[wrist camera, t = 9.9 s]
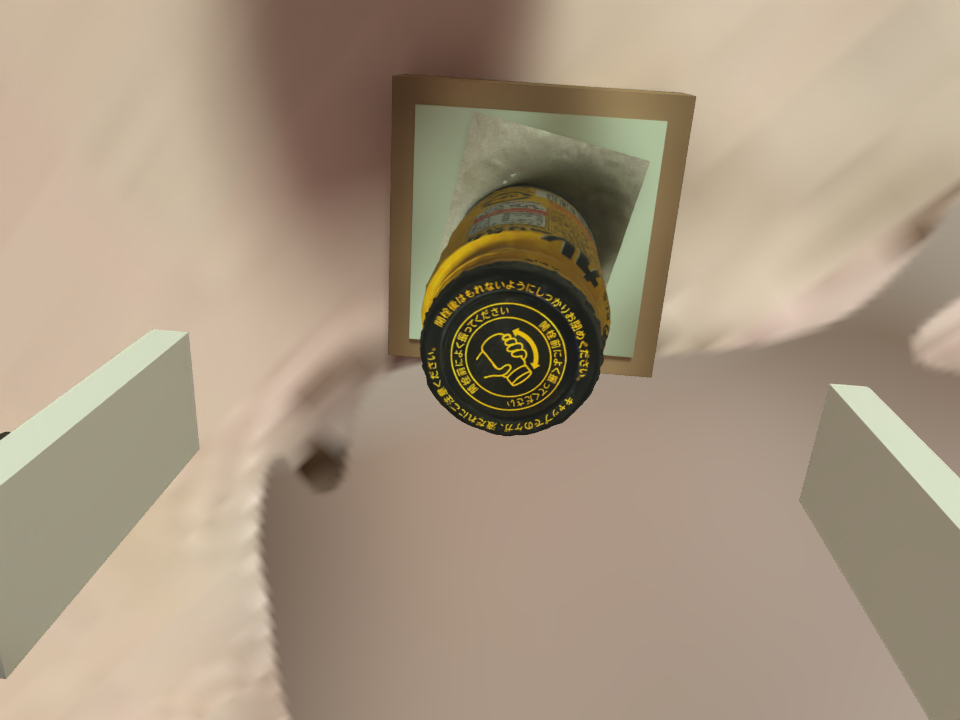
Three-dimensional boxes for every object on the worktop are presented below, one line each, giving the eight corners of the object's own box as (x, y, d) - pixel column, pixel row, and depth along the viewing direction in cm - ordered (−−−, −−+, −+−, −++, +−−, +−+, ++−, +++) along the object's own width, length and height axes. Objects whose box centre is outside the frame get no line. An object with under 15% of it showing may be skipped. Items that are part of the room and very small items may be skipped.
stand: (399, 332, 37) (386, 357, 34) (405, 74, 33) (391, 76, 30) (643, 353, 37) (652, 380, 34) (683, 93, 32) (697, 96, 29)
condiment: (426, 305, 33) (366, 429, 22) (474, 110, 30) (432, 141, 19) (584, 349, 34) (604, 494, 22) (649, 160, 30) (709, 219, 19)
